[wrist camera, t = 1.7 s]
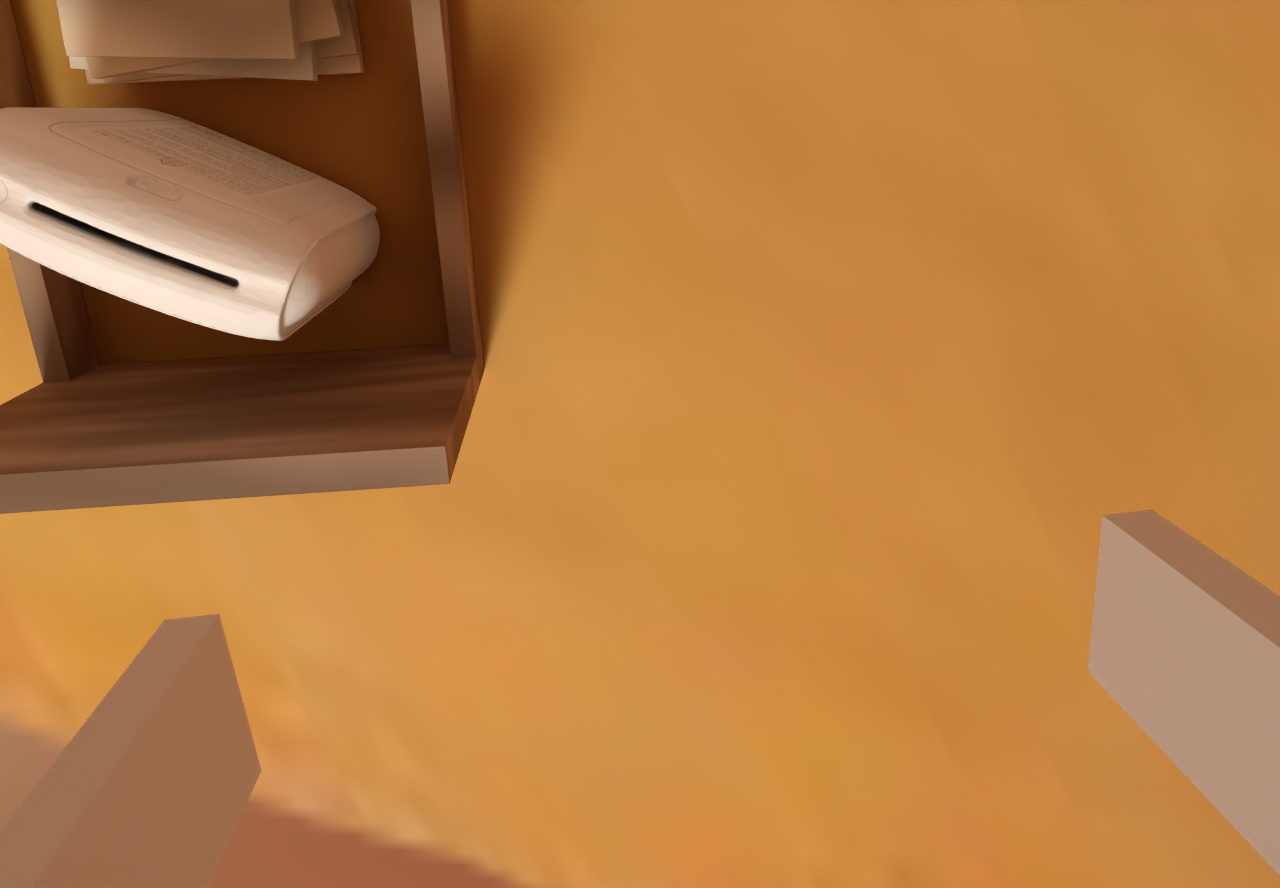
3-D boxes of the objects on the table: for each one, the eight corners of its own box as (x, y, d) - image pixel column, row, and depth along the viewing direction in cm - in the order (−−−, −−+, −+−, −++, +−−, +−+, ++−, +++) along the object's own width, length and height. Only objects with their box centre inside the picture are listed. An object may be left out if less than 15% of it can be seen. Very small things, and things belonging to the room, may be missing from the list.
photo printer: (108, 197, 37) (-103, 240, 25) (135, 91, 36) (-73, 84, 24) (362, 299, 39) (276, 382, 27) (396, 202, 38) (321, 245, 26)
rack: (-50, -119, 33) (-413, -253, 21) (433, -133, 34) (358, -269, 22) (82, 393, 39) (-136, 522, 27) (484, 369, 40) (449, 483, 28)
